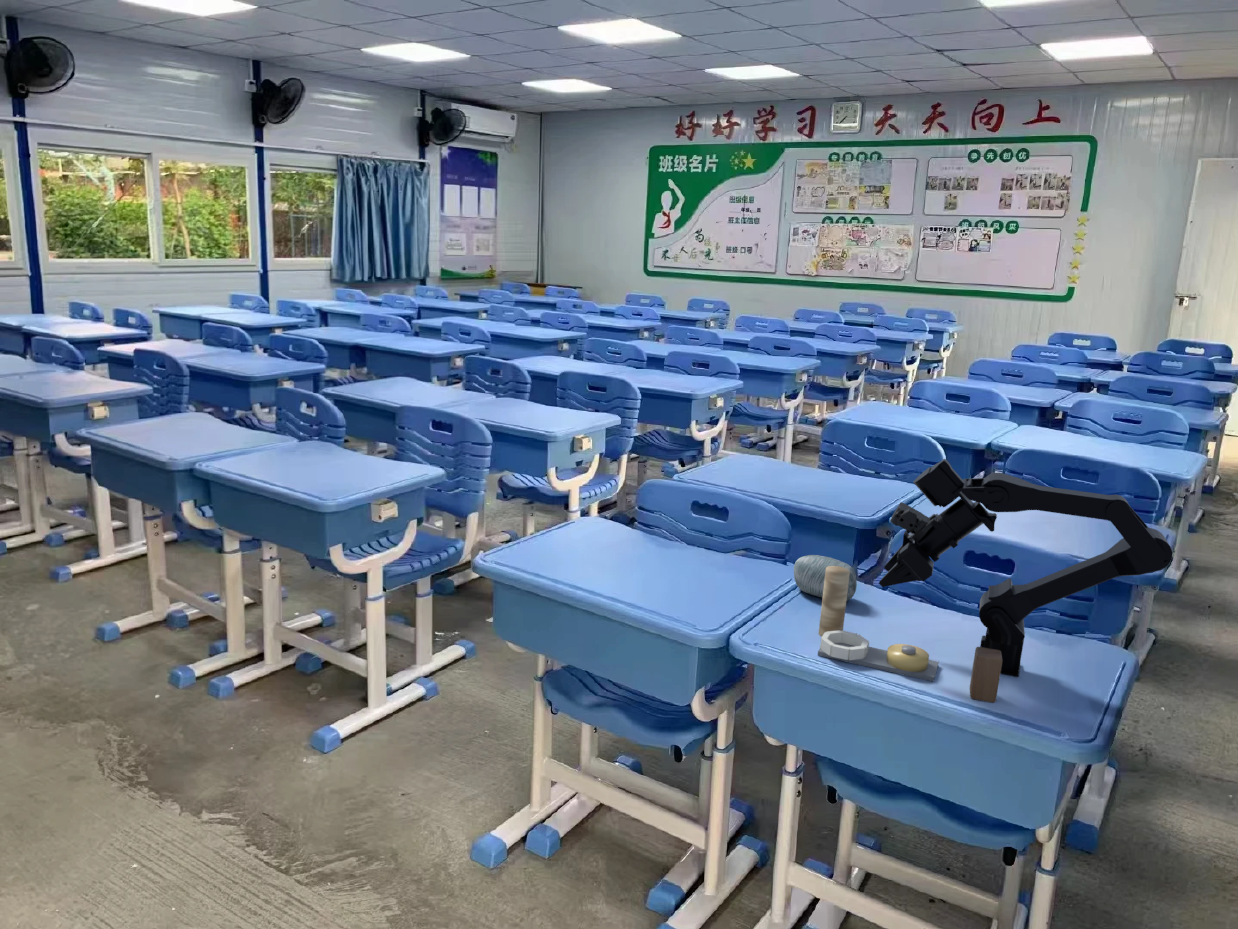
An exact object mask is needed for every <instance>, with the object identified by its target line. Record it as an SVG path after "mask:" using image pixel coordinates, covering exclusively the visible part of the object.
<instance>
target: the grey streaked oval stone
mask: <svg viewBox="0 0 1238 929" xmlns="http://www.w3.org/2000/svg"><path fill="white" fill-rule="evenodd" d="M828 566H840V567H844V568H847V569H848V570H850V575H849V584H848V592H847V601H846V602H848V601H850V600H851V599H852V598H853V597H854V596H855V594H856V591H857V586H858V584H857V583H858V582H857V576H856V573H855V570H854V568H853V567H852V566H850V564H848V563H846V562H843V561H841V560H839V559H836V558H833V557H830V556H823V555H818V554H808V555H804V556H801V557H799V558H797V560H796V561H795V563H794V565H793V578H794V581H795V584H796V586H797V588H798V589H800V590H801V591H802V592H805V593H806V594H809V595H811V596H814V597H815V596H816V597H818V598H821V599H822V598H823V589H824V580H825V571H826V567H828Z"/></svg>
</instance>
